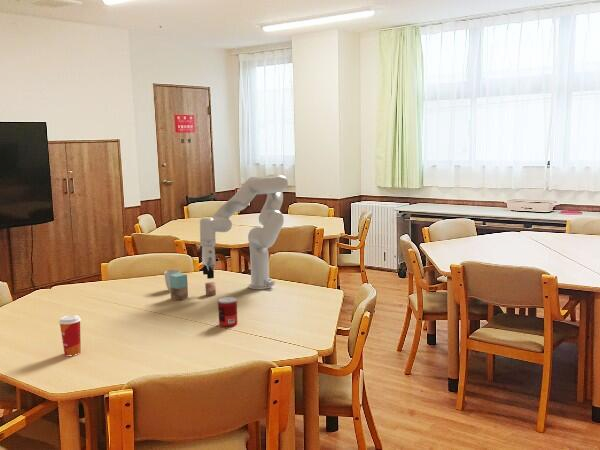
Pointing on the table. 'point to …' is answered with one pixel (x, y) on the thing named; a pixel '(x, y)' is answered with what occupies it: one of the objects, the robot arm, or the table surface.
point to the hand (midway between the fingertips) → (208, 276)
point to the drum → (210, 289)
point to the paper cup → (71, 334)
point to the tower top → (178, 281)
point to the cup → (167, 277)
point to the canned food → (227, 311)
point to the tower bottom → (179, 293)
